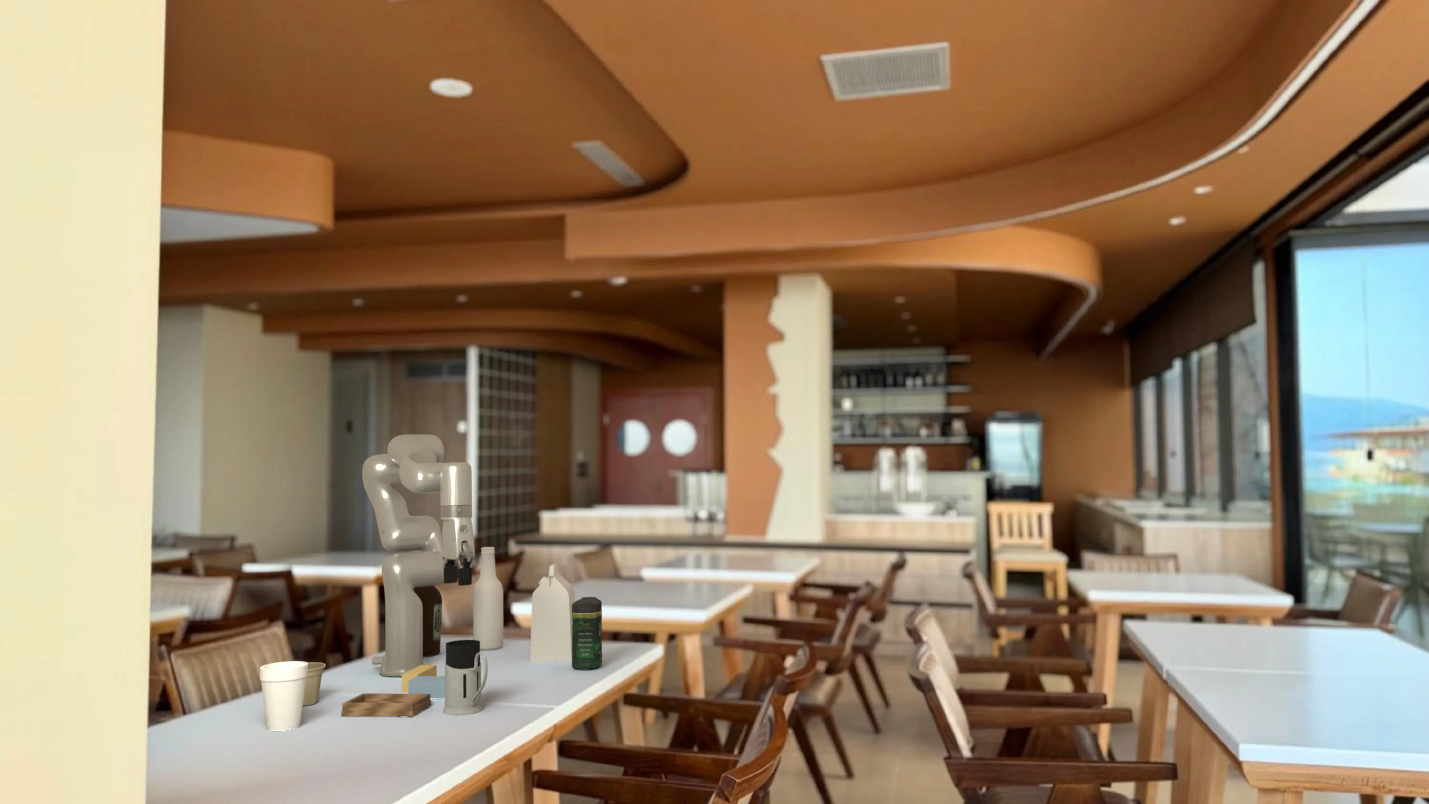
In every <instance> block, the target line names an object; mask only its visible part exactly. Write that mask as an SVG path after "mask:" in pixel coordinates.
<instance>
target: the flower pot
mask: <svg viewBox="0 0 1429 804" xmlns="http://www.w3.org/2000/svg"><path fill="white" fill-rule="evenodd" d="M307 663H308V676H307V677H306V685H305V692H304V699H303V705H308V706H312V705H311V704H313V705H316V702H317V703H318V702H319V697H320V690H321V689H320V688H321V682H322V677H323V673H324V670H325V668H326V665H327V664H326V663H324V662H314V661H313V662H307Z"/></svg>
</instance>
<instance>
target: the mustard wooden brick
mask: <svg viewBox="0 0 1429 804" xmlns="http://www.w3.org/2000/svg"><path fill="white" fill-rule="evenodd" d="M437 668H438V666H437V664H426V665H420V666H418V667H416V668H414V669H412V670H410V671H408V672H406V673H404V674H402V676H401V693H402V692H408V681H409V680H411V679H413V678H415V677H416V676H438V671H437V670H438V669H437Z"/></svg>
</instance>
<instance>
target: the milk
mask: <svg viewBox="0 0 1429 804" xmlns="http://www.w3.org/2000/svg"><path fill="white" fill-rule="evenodd" d="M548 569H549V570H548V576H543V577H542V578H541V579H540V580H539V581H538V583H537V584H538V585H539V586H538V587H536V589H535V590H534V591H533V592H532V595H531V621H530V622H531V623H530V654H529V657H530V659H529V660H530V661H529V662H555V661H554V660H572V604H573V603H574V602H575V601H576V594H575V588H574V587H573V585H572V584H571V583H570V582H569V581H568V580H567V579H565V577H563V576H562V574H560V573H559V563H552V564H550V565H549V568H548Z"/></svg>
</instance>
